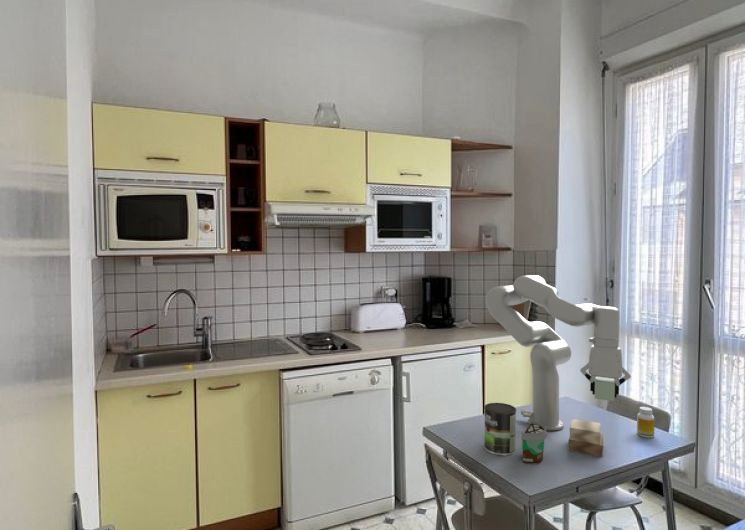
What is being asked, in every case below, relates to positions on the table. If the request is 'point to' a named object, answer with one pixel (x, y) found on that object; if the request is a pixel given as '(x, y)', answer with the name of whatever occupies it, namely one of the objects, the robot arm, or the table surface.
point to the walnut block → (586, 447)
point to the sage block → (604, 388)
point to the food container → (533, 443)
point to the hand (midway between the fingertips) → (604, 394)
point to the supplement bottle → (645, 422)
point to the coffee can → (500, 429)
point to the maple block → (585, 431)
